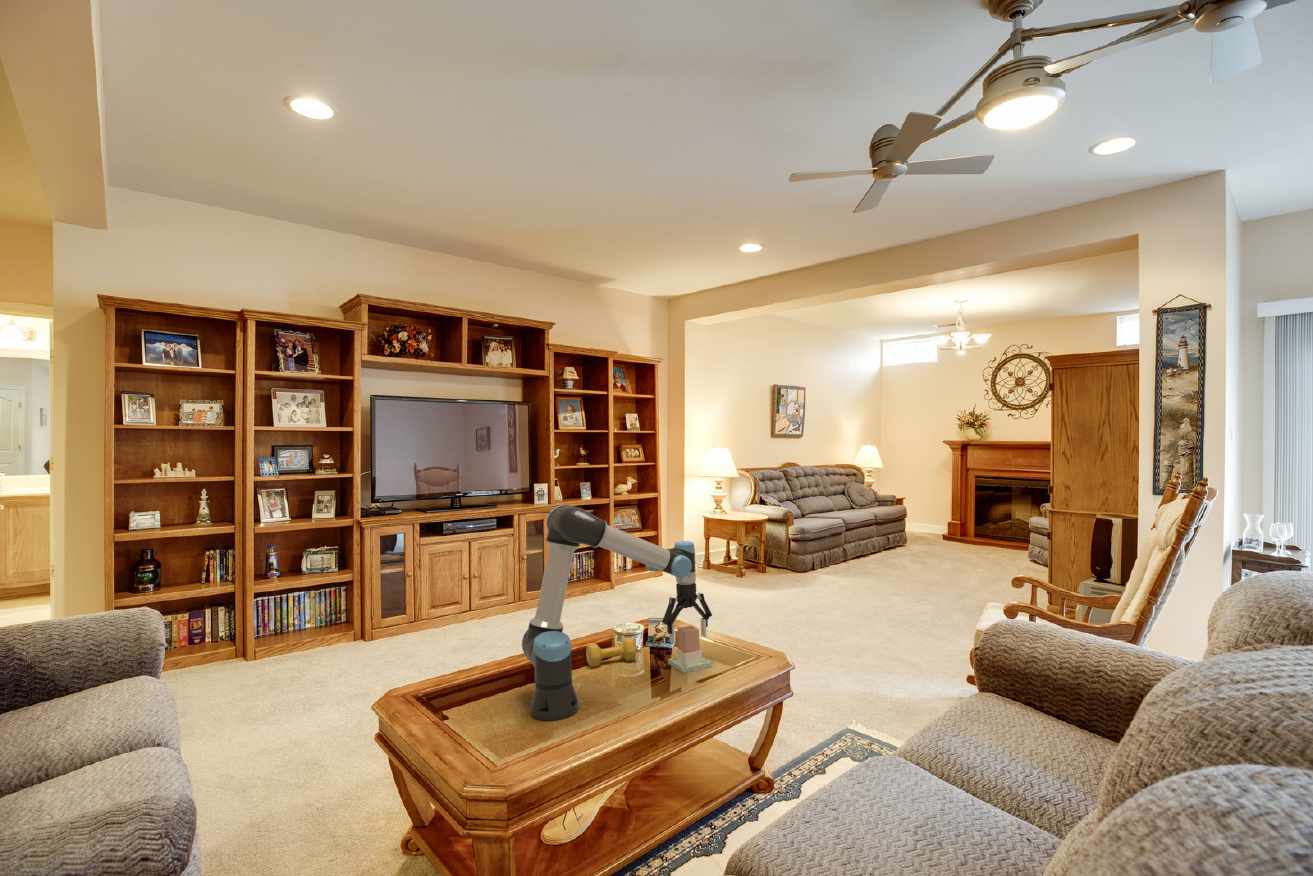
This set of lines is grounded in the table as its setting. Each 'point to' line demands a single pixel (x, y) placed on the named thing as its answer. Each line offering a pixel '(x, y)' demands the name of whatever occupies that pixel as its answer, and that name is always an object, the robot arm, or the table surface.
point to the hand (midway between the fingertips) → (688, 639)
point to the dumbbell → (610, 652)
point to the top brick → (688, 639)
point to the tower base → (690, 667)
